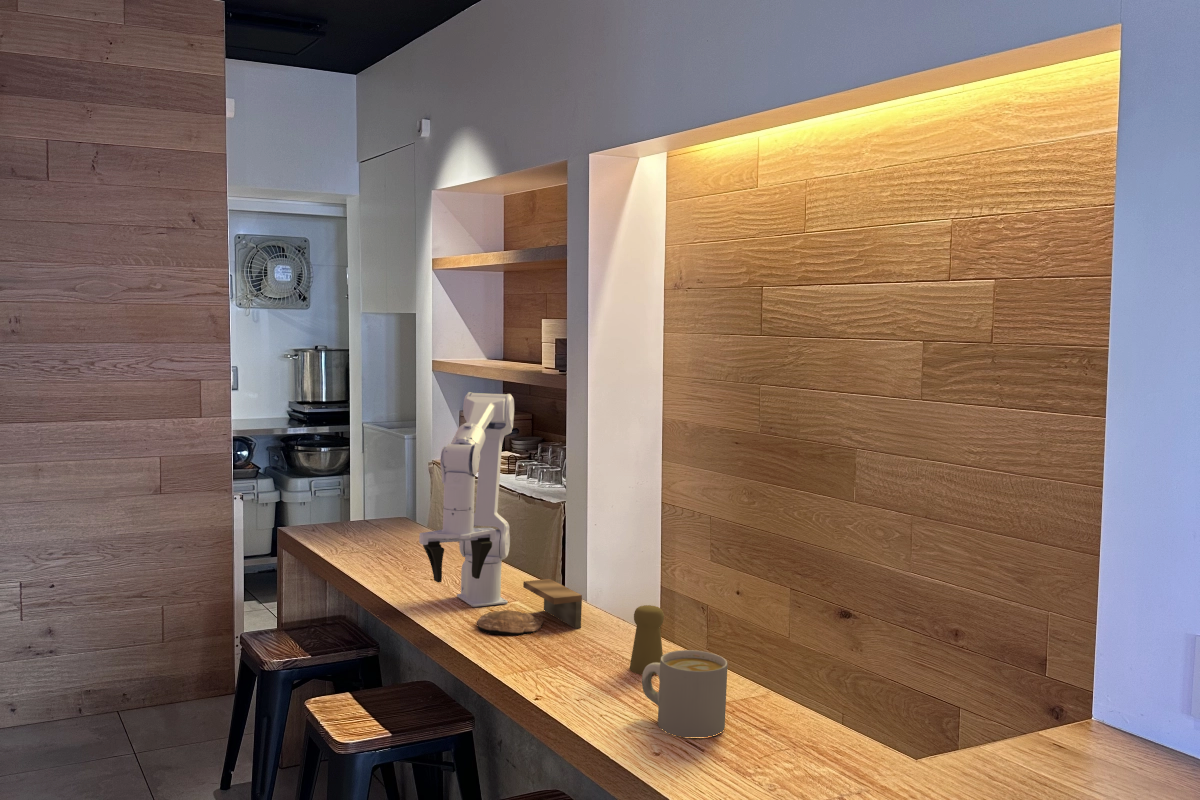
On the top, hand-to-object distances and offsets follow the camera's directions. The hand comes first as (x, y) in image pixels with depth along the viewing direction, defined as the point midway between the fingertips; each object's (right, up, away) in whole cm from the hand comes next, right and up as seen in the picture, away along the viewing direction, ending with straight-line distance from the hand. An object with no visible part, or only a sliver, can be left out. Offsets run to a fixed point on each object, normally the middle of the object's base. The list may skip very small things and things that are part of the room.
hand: (456, 579), depth 196 cm
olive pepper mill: (+35, -13, -16) cm, 41 cm away
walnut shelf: (+17, -10, +12) cm, 23 cm away
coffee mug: (+39, -15, -40) cm, 58 cm away
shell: (+9, -11, +6) cm, 16 cm away
